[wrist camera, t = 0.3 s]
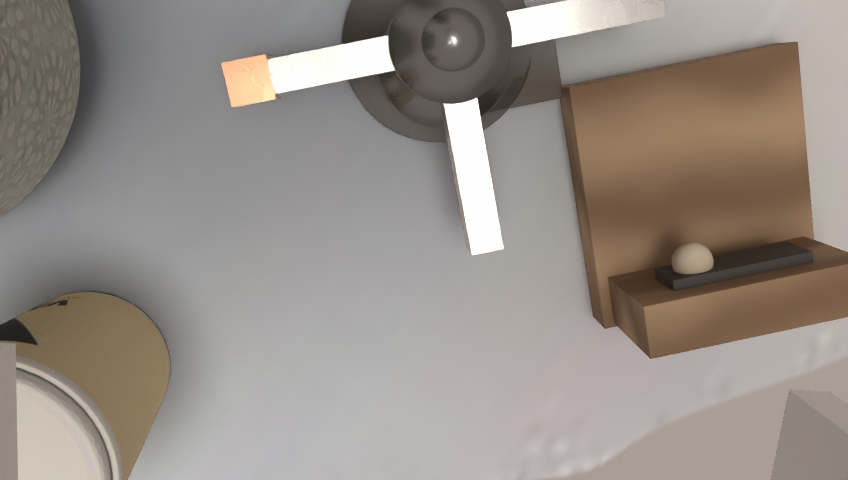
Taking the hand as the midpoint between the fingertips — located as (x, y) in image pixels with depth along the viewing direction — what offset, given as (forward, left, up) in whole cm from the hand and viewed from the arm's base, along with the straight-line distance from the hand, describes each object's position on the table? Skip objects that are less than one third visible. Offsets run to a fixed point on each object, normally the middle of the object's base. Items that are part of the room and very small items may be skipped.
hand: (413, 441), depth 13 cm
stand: (-2, +10, -26) cm, 28 cm away
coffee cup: (+5, -16, -26) cm, 31 cm away
